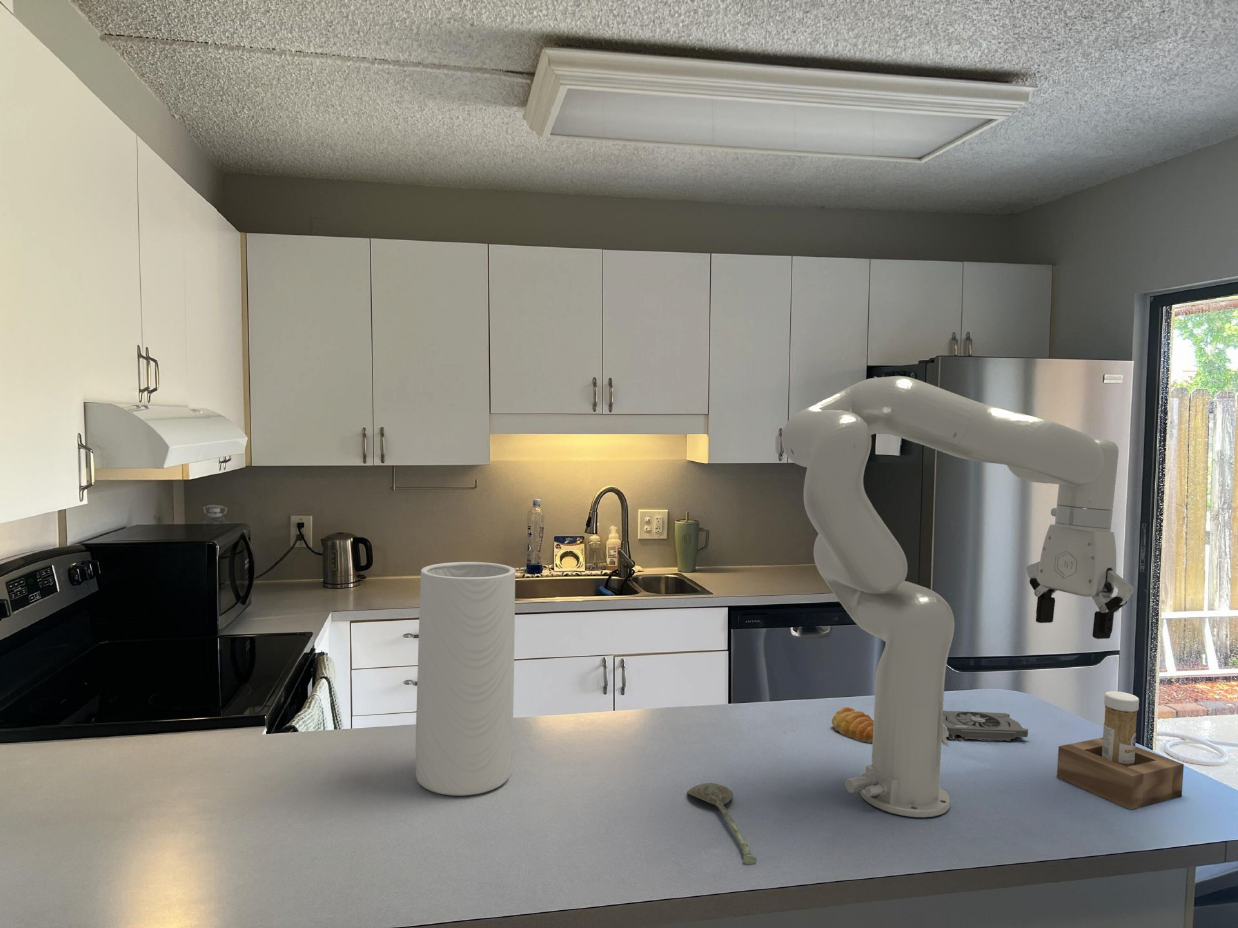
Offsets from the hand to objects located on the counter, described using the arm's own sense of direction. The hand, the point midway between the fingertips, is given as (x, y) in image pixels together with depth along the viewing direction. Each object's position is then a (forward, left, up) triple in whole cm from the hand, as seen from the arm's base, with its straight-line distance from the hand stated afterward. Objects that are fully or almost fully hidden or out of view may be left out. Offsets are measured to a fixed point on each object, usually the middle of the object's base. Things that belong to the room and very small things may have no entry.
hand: (1071, 629), depth 129 cm
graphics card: (+5, +21, -25) cm, 33 cm away
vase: (-85, +35, -25) cm, 95 cm away
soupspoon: (-56, +9, -25) cm, 62 cm away
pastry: (-15, +29, -25) cm, 41 cm away
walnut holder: (+8, -4, -24) cm, 26 cm away
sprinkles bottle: (+8, -3, -24) cm, 25 cm away
